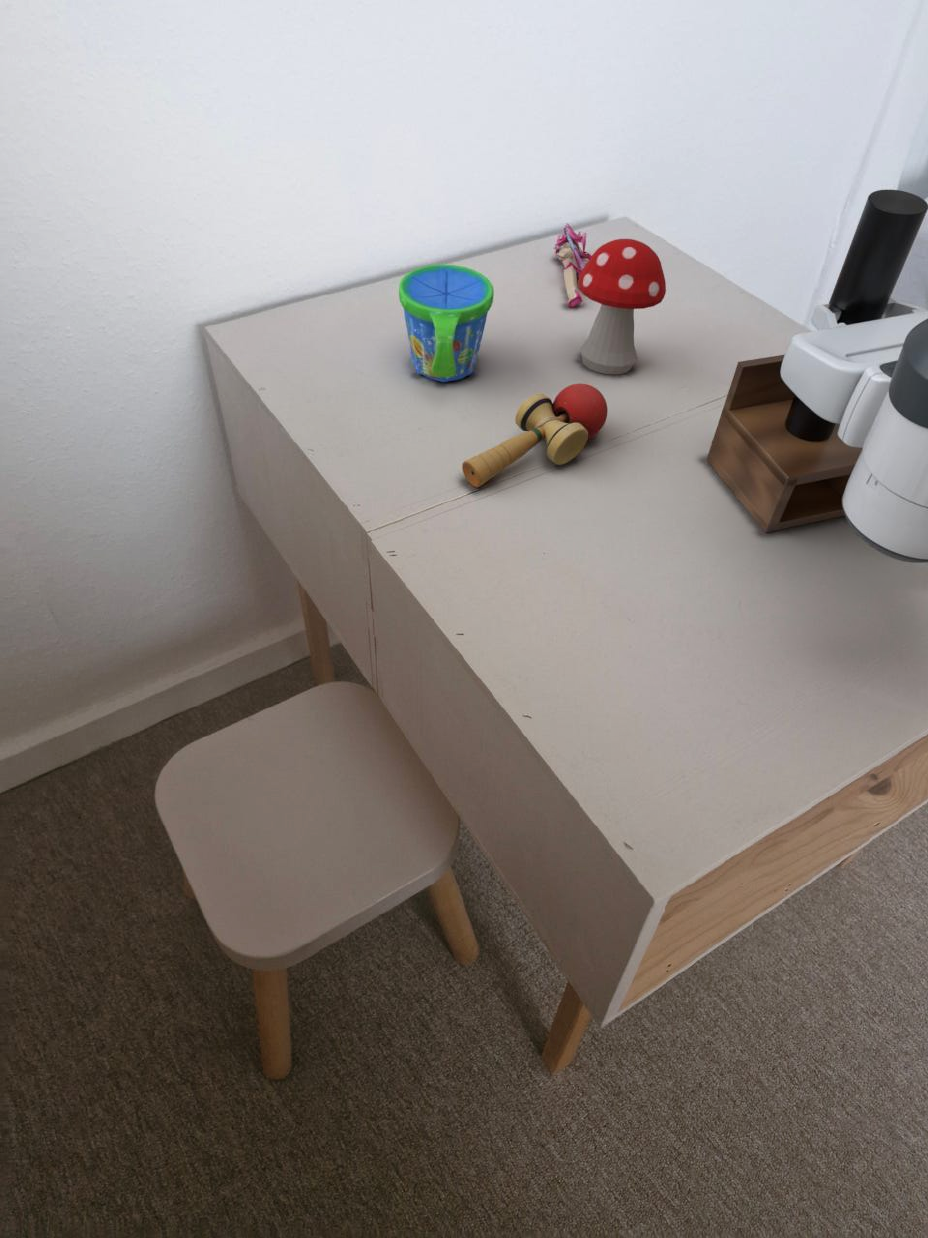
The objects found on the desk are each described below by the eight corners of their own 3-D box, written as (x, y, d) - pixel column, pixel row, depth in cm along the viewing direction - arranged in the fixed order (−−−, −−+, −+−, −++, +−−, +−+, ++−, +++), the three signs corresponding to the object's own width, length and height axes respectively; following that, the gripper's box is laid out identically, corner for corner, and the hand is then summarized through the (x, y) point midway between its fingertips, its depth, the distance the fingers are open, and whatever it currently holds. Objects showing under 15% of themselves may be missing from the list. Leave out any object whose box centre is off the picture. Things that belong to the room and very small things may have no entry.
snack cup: (481, 409, 96) (487, 327, 88) (389, 400, 96) (387, 317, 89) (493, 337, 106) (499, 257, 99) (410, 328, 107) (410, 249, 99)
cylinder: (802, 445, 82) (893, 217, 66) (775, 418, 85) (856, 193, 68) (841, 436, 83) (941, 209, 67) (813, 409, 86) (902, 185, 69)
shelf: (857, 512, 87) (909, 414, 78) (765, 532, 84) (807, 433, 75) (792, 443, 94) (832, 346, 85) (706, 459, 92) (737, 361, 83)
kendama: (501, 518, 86) (627, 435, 92) (491, 467, 81) (624, 383, 87) (455, 488, 91) (577, 411, 97) (443, 439, 86) (572, 361, 92)
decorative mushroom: (560, 375, 101) (579, 251, 90) (572, 338, 107) (590, 218, 95) (643, 389, 100) (673, 266, 89) (650, 351, 105) (679, 231, 94)
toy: (581, 326, 114) (561, 266, 123) (619, 303, 112) (597, 244, 121) (556, 286, 109) (537, 226, 118) (596, 261, 107) (574, 202, 116)
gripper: (1079, 338, 67) (961, 256, 75) (859, 382, 62) (760, 289, 71) (1036, 405, 72) (930, 320, 80) (829, 450, 67) (740, 356, 75)
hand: (848, 306), depth 75 cm, fingers closed on cylinder, 5 cm apart
